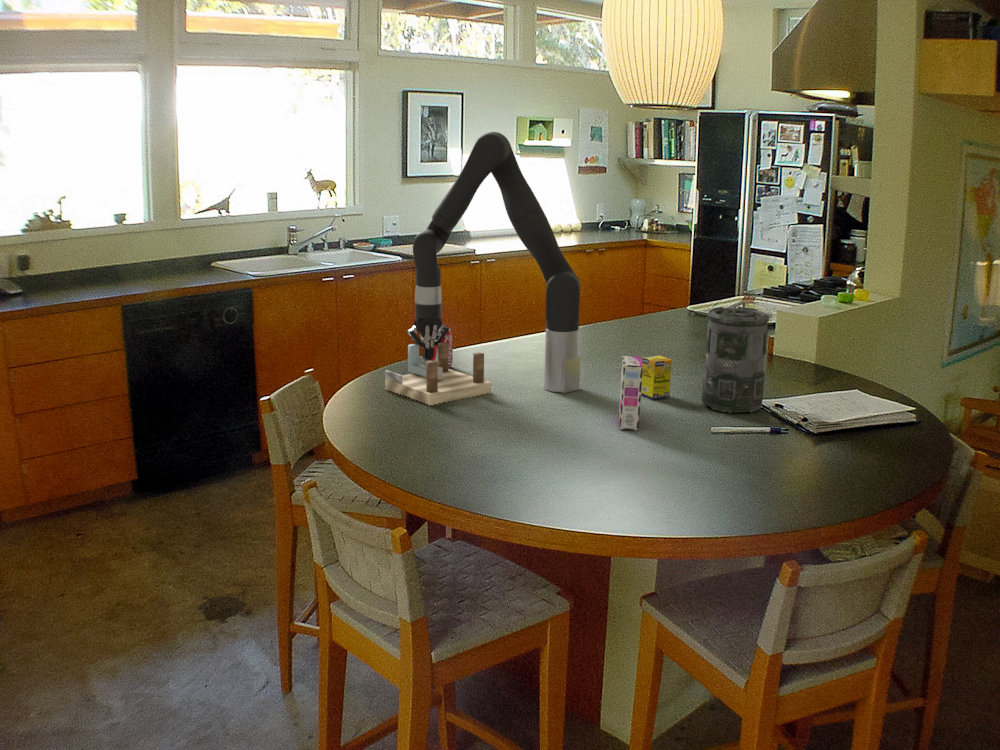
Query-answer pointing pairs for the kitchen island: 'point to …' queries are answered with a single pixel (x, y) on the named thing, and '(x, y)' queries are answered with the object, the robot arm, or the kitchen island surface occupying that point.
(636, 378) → the candy bar box
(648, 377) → the supplement box
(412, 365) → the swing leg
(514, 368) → the kitchen island surface
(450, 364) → the soda can
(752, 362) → the canister
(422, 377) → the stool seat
